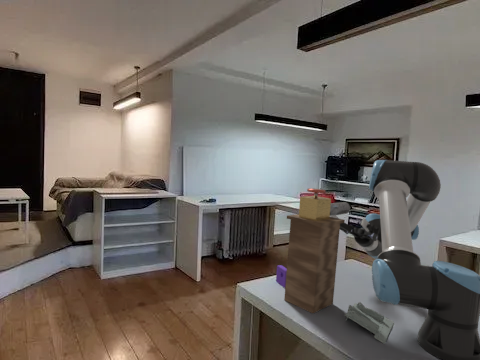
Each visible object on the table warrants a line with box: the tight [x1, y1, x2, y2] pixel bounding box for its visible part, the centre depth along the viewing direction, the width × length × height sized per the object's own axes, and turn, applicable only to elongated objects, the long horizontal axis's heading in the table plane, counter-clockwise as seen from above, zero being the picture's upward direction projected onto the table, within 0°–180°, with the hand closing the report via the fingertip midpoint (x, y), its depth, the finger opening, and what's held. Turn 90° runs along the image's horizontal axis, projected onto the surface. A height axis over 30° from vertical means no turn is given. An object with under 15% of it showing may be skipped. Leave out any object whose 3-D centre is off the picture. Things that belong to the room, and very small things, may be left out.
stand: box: [283, 213, 346, 314], centre depth 113 cm, size 14×14×30 cm
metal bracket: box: [344, 301, 395, 344], centre depth 100 cm, size 14×6×15 cm
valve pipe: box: [298, 188, 351, 221], centre depth 116 cm, size 24×7×10 cm, turn 133°
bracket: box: [275, 264, 287, 289], centre depth 130 cm, size 12×7×7 cm, turn 112°
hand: (346, 218), depth 127 cm, fingers open, 13 cm apart
